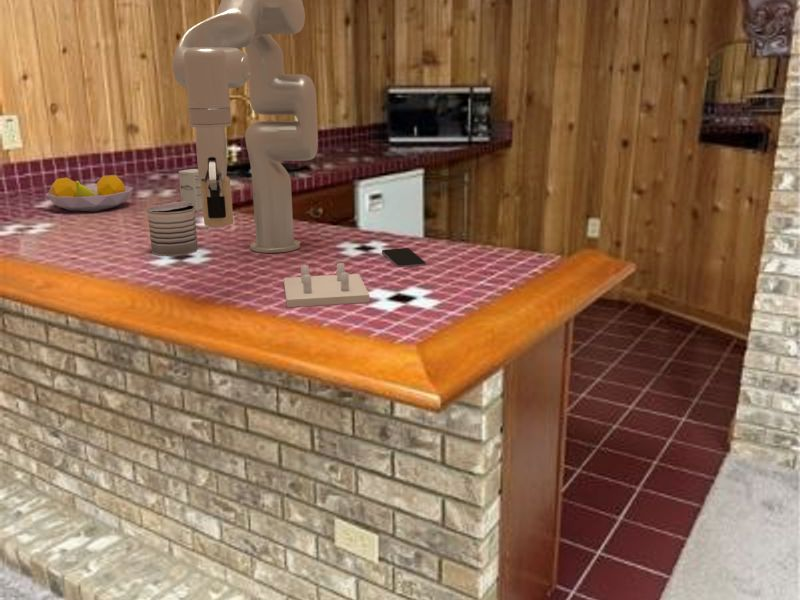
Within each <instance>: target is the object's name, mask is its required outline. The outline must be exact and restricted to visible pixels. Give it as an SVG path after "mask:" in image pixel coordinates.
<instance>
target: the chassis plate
mask: <svg viewBox="0 0 800 600" xmlns="http://www.w3.org/2000/svg"><path fill="white" fill-rule="evenodd" d="M309 269H310V266H309V264H301V265H300V276H294V277H283V286H284V287H283V288H284V292H285V293H284V294H285V295H284V296H285V303H286V308H298V307H297V306H301V307H317V306H329V305H332V306H333V305H346V304H347V305H348V304H363V303H364V304H365V303H370V301H371V300H370V299H371V298H370V293H369V291H368V289H367V288H366V285H365V284H364V281H363V279H362V277H361V275H360V274H359V273H349V272H347V271H345V263H344V262H339V263H336V274H333V275H331V274H330V275H329V274H328V275H314V276H312V275H311V274H310V273H309V272H310V270H309Z"/></svg>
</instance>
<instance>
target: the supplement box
mask: <svg viewBox="0 0 800 600" xmlns="http://www.w3.org/2000/svg"><path fill="white" fill-rule="evenodd" d="M178 179H179V181H178V182H179V192H180V202H187V201H191V202H193V203H195V204H192V205H191V206H194V212H198V211H199V212H201V211H203V205H202V193H201V182H200V181H199V179H198V168H190V169H183V170H179V171H178Z"/></svg>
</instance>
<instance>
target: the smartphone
mask: <svg viewBox="0 0 800 600" xmlns="http://www.w3.org/2000/svg"><path fill="white" fill-rule="evenodd" d="M381 254H382V255H383V256H384V257H385V258H386V259H387V260H388V261H390V262H391V263H392V264H393V266H395V267H398V268H408V267H409V268H410V267H420V266H426V265H427V262H426V261H425V260H424V259H422V258H421V257H420V256H419V255H417V254H416V253H415V252H414V251H413V250H412V249H411V248H410V247H409V248H407V247H401V248H400V247H399V248H390V249H389V248H387V249H382V250H381Z"/></svg>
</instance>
